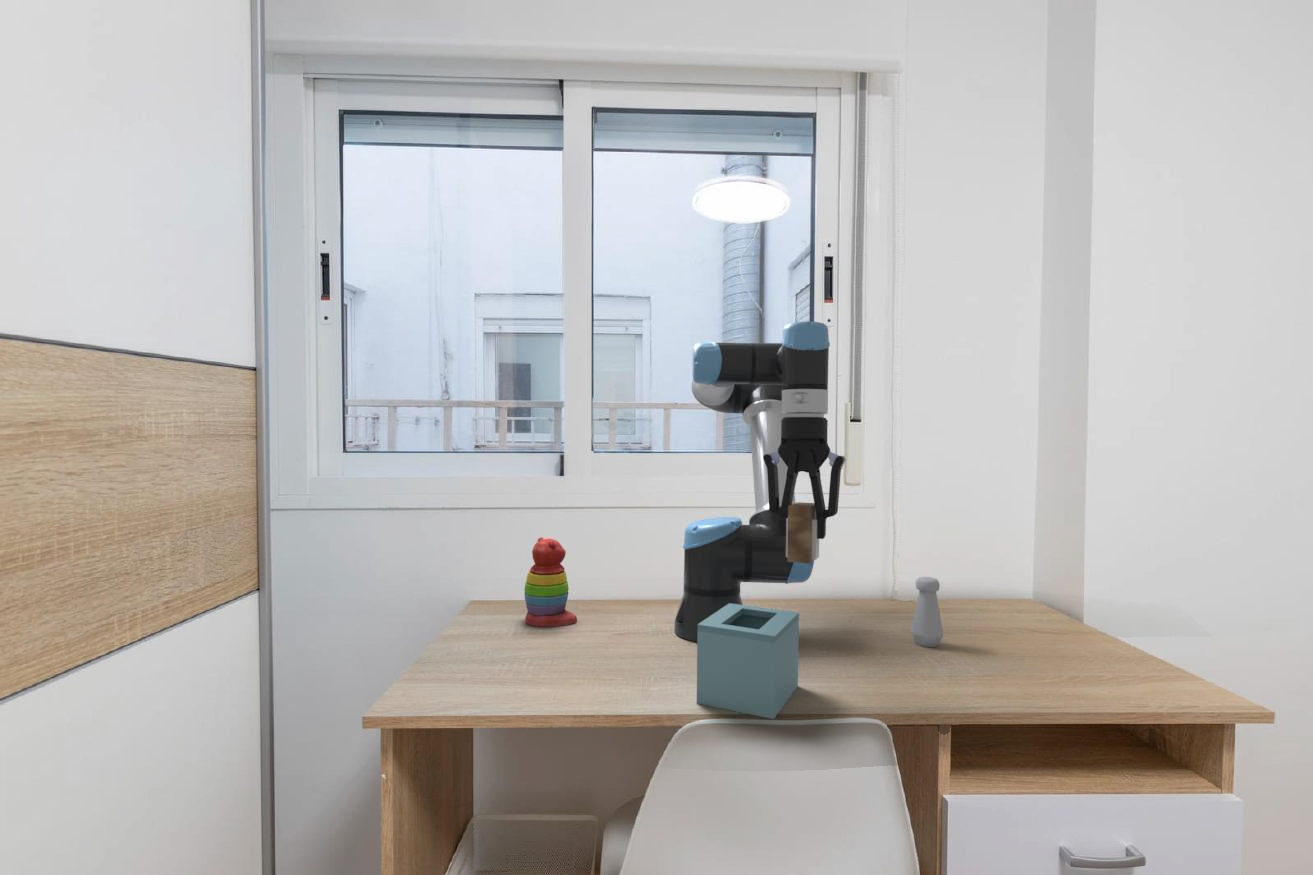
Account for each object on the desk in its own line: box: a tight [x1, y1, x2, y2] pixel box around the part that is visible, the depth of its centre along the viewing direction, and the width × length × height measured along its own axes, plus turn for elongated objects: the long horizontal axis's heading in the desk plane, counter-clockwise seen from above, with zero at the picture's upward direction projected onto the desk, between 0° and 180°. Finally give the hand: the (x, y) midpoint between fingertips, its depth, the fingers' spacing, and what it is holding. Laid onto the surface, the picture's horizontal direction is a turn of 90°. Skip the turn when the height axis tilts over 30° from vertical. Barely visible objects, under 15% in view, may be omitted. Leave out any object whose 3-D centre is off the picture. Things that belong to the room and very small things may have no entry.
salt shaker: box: [910, 576, 944, 648], centre depth 129 cm, size 6×6×13 cm
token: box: [788, 501, 816, 563], centre depth 110 cm, size 4×7×9 cm, turn 156°
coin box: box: [696, 603, 800, 720], centre depth 104 cm, size 12×14×12 cm
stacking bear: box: [523, 536, 578, 627], centre depth 142 cm, size 11×10×18 cm
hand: (802, 556), depth 110 cm, fingers closed on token, 3 cm apart
